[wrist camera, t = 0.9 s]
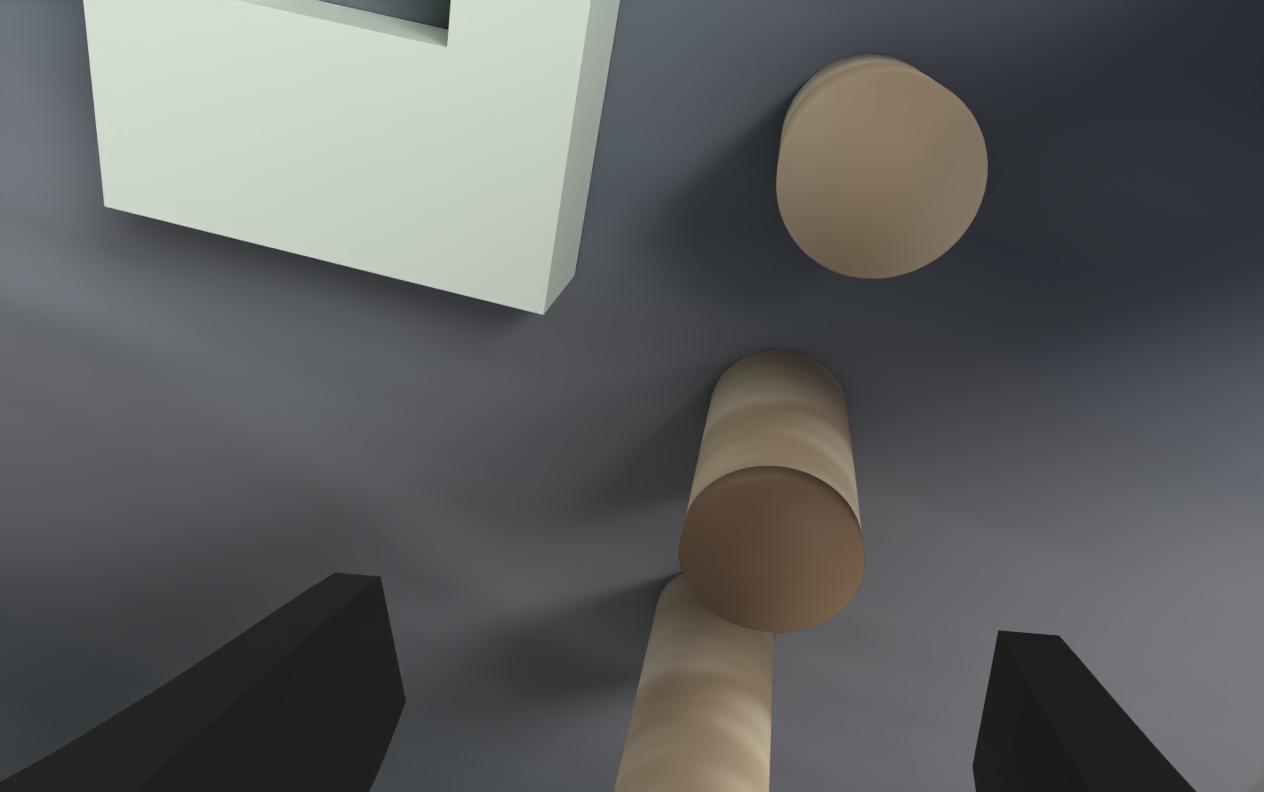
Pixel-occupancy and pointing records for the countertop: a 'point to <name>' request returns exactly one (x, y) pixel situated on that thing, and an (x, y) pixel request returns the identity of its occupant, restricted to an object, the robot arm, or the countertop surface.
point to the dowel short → (878, 167)
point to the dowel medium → (774, 497)
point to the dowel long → (700, 703)
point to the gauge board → (361, 132)
